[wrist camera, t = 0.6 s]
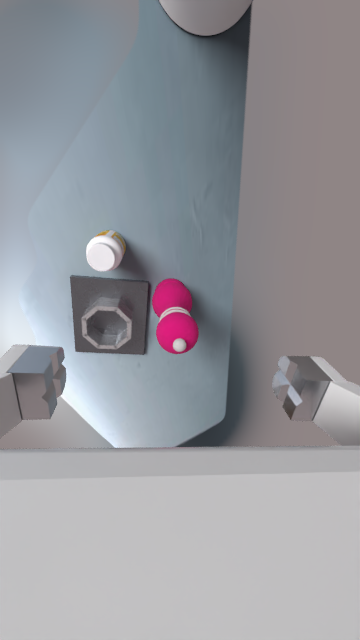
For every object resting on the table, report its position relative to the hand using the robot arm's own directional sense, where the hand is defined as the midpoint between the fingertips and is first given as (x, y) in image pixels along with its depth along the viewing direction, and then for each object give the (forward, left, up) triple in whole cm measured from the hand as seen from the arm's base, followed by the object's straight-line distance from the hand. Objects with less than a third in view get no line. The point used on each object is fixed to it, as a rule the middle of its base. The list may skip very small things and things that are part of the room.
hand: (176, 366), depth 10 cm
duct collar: (+18, -8, -40) cm, 44 cm away
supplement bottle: (+4, -8, -40) cm, 41 cm away
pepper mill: (+12, +3, -40) cm, 42 cm away
